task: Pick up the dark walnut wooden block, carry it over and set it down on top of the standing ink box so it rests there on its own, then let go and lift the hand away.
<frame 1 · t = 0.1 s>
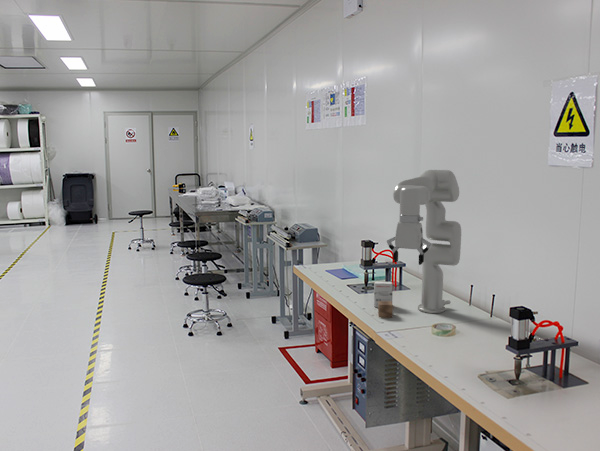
hand: (408, 262, 209), 31 cm above the table, tool pointing down, fingers open, 9 cm apart
walnut block: (385, 315, 244), on the table
ink box: (382, 306, 259), on the table
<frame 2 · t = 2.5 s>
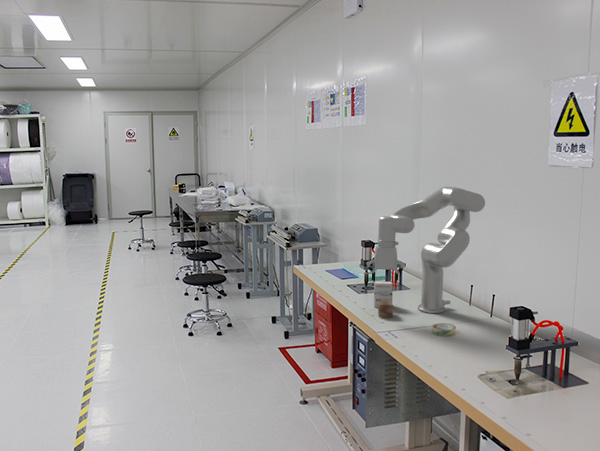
hand: (384, 281, 242), 16 cm above the table, tool pointing down, fingers open, 9 cm apart
nothing on the table moved.
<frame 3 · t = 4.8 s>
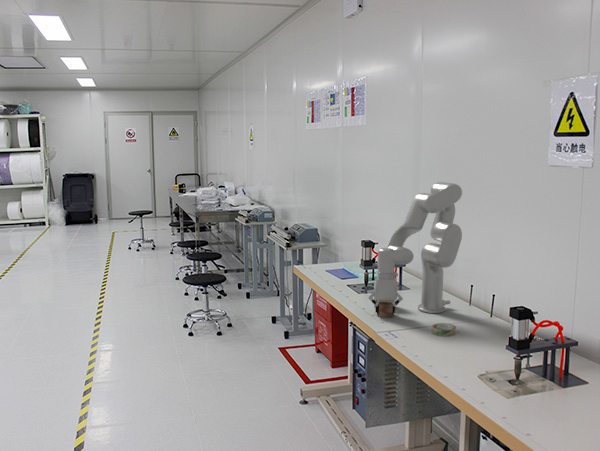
hand: (385, 313, 244), 1 cm above the table, tool pointing down, fingers closed on walnut block, 6 cm apart
walnut block: (385, 315, 244), on the table, touching gripper
everything else where it was.
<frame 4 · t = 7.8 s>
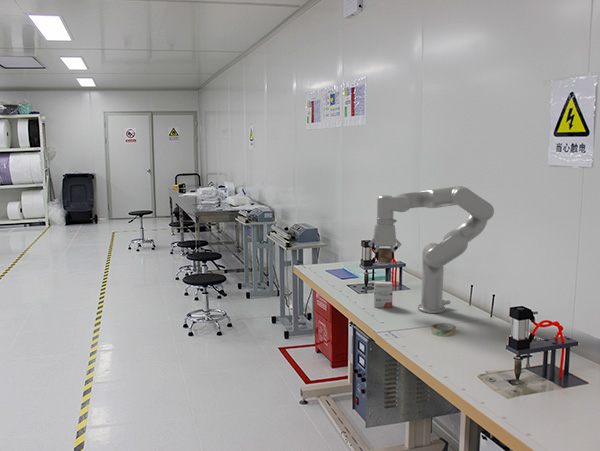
hand: (384, 259, 252), 23 cm above the table, tool pointing down, fingers closed on walnut block, 6 cm apart
walnut block: (384, 261, 252), point 23 cm above the table, touching gripper
everything else where it was.
when the fingers open (14 cm above the table, at t = 10.7 s): walnut block drops 2 cm, resting on ink box.
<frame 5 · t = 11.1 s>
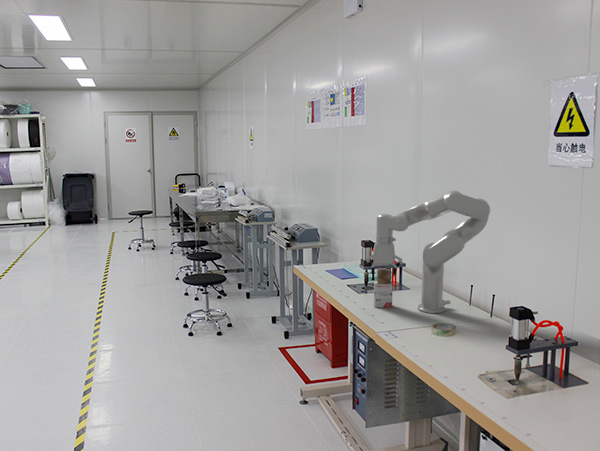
hand: (383, 275, 257), 15 cm above the table, tool pointing down, fingers open, 9 cm apart
walnut block: (383, 282, 257), point 12 cm above the table, touching ink box
ink box: (382, 306, 259), on the table, touching walnut block
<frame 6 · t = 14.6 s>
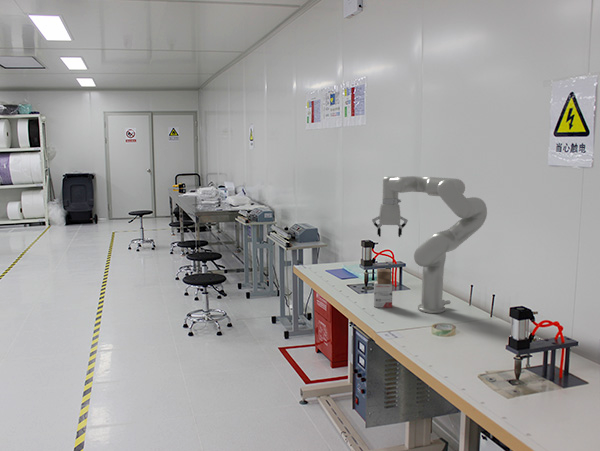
hand: (389, 236, 264), 32 cm above the table, tool pointing down, fingers open, 9 cm apart
nothing on the table moved.
at the end: walnut block 0.2 cm off-centre on the ink box, point 12.0 cm above the ink box's base; ink box tilted 0°; the gripper is holding nothing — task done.
